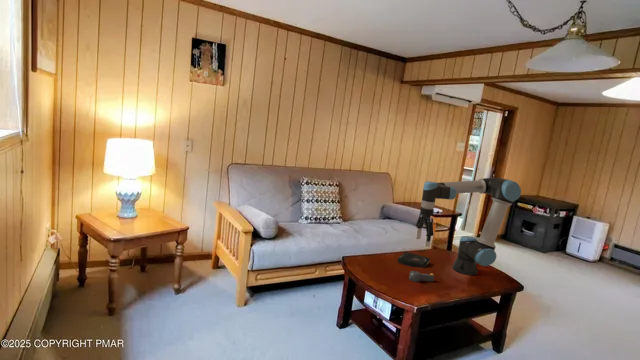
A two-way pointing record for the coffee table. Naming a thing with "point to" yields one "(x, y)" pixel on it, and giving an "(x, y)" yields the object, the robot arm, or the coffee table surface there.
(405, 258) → the portable cd player
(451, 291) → the coffee table surface
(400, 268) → the coffee table surface
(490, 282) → the coffee table surface
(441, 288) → the coffee table surface
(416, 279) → the dial
